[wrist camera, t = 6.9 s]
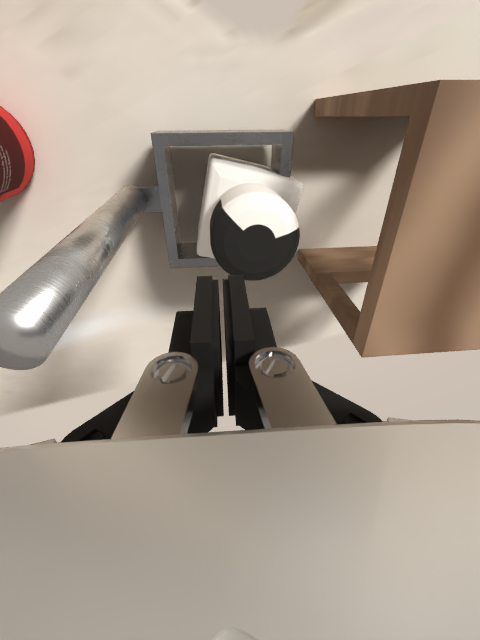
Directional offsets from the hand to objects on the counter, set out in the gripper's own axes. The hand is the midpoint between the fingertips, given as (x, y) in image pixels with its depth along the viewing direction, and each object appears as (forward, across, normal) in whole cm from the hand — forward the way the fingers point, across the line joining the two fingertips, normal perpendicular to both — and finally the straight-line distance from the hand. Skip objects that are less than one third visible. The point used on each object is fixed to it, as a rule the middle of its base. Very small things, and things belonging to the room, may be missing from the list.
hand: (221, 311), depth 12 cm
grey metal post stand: (+20, +2, 0) cm, 20 cm away
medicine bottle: (+22, -2, +1) cm, 22 cm away
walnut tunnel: (+22, -14, 0) cm, 26 cm away
